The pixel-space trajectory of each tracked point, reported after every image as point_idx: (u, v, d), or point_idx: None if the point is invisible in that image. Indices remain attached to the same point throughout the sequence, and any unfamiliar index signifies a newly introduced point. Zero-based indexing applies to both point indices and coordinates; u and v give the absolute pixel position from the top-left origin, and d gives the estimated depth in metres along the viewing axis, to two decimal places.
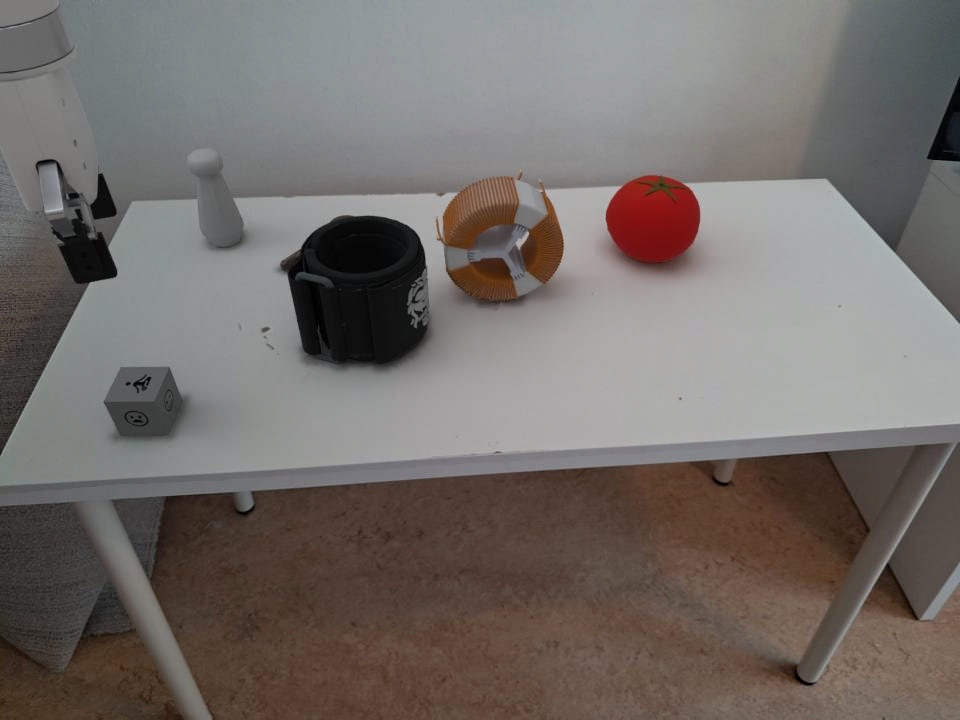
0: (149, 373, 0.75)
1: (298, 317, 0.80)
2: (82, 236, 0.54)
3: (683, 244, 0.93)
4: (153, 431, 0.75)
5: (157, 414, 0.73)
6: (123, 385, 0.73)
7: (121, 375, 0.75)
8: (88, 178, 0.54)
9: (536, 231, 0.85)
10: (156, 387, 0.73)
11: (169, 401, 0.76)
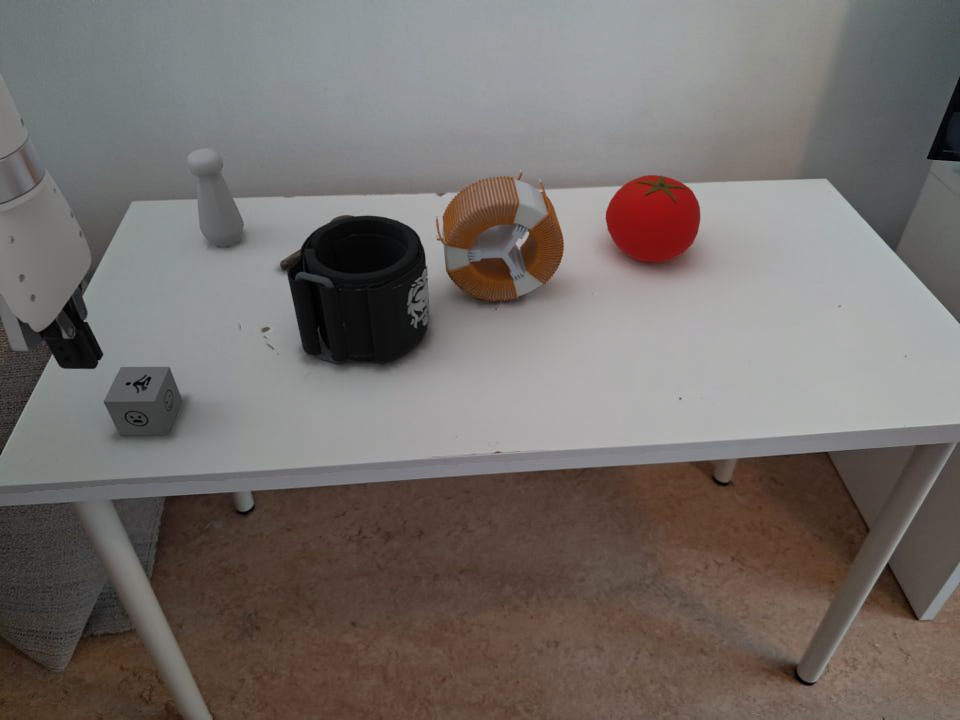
0: (149, 373, 0.75)
1: (298, 317, 0.80)
2: (52, 338, 0.58)
3: (683, 244, 0.93)
4: (153, 431, 0.75)
5: (157, 414, 0.73)
6: (123, 385, 0.73)
7: (121, 375, 0.75)
8: (36, 309, 0.53)
9: (536, 231, 0.85)
10: (156, 387, 0.73)
11: (169, 401, 0.76)
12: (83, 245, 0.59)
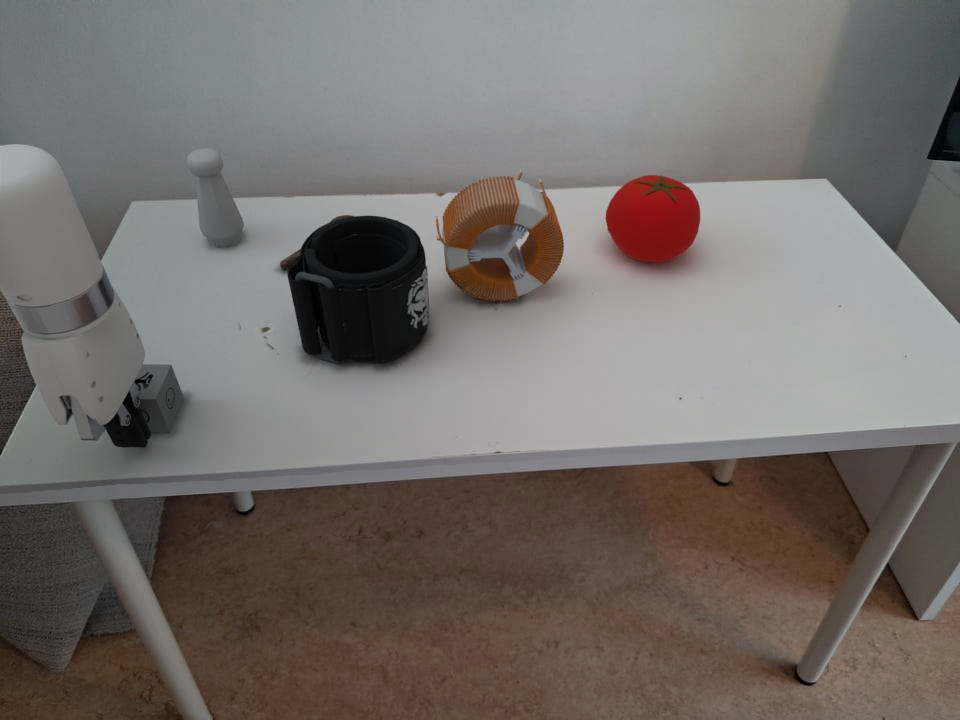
0: (151, 371, 0.75)
1: (298, 317, 0.80)
2: (112, 426, 0.67)
3: (683, 244, 0.93)
4: (155, 428, 0.75)
5: (158, 412, 0.74)
6: None
7: None
8: (103, 407, 0.63)
9: (536, 231, 0.85)
10: (158, 385, 0.74)
11: (171, 399, 0.76)
12: (139, 345, 0.69)
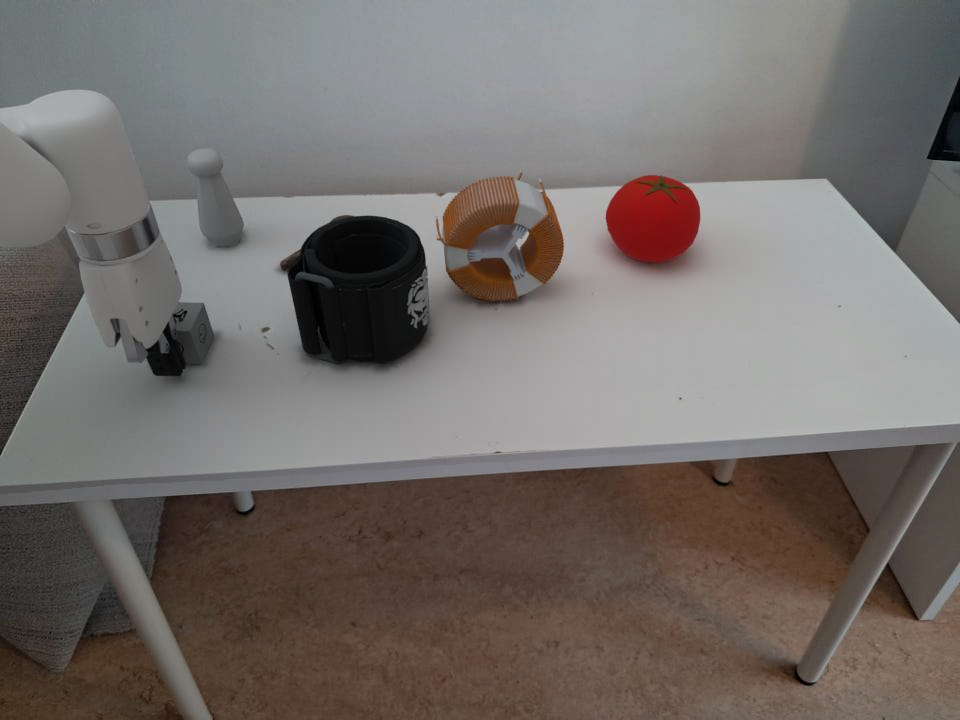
0: (186, 308, 0.83)
1: (298, 317, 0.80)
2: (154, 352, 0.75)
3: (683, 244, 0.93)
4: (188, 360, 0.83)
5: (192, 344, 0.81)
6: None
7: None
8: (148, 331, 0.71)
9: (536, 231, 0.85)
10: (192, 319, 0.81)
11: (203, 334, 0.83)
12: (177, 281, 0.77)
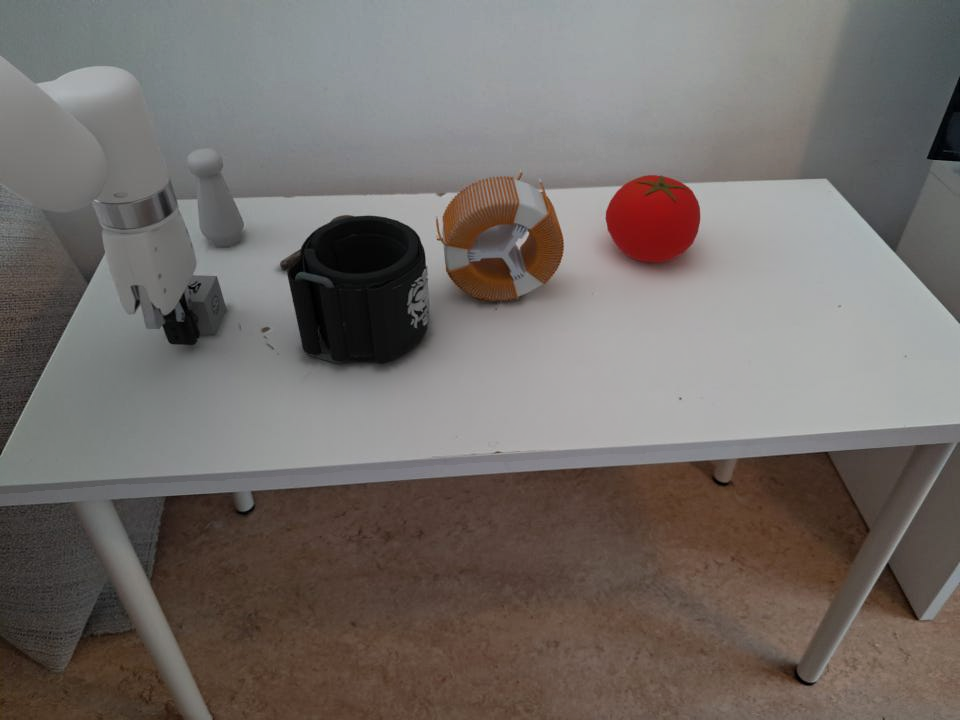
0: (199, 280, 0.86)
1: (298, 317, 0.80)
2: (170, 320, 0.79)
3: (683, 244, 0.93)
4: (201, 330, 0.86)
5: (205, 314, 0.85)
6: None
7: None
8: (166, 298, 0.75)
9: (536, 231, 0.85)
10: (205, 291, 0.85)
11: (216, 306, 0.87)
12: (192, 253, 0.81)
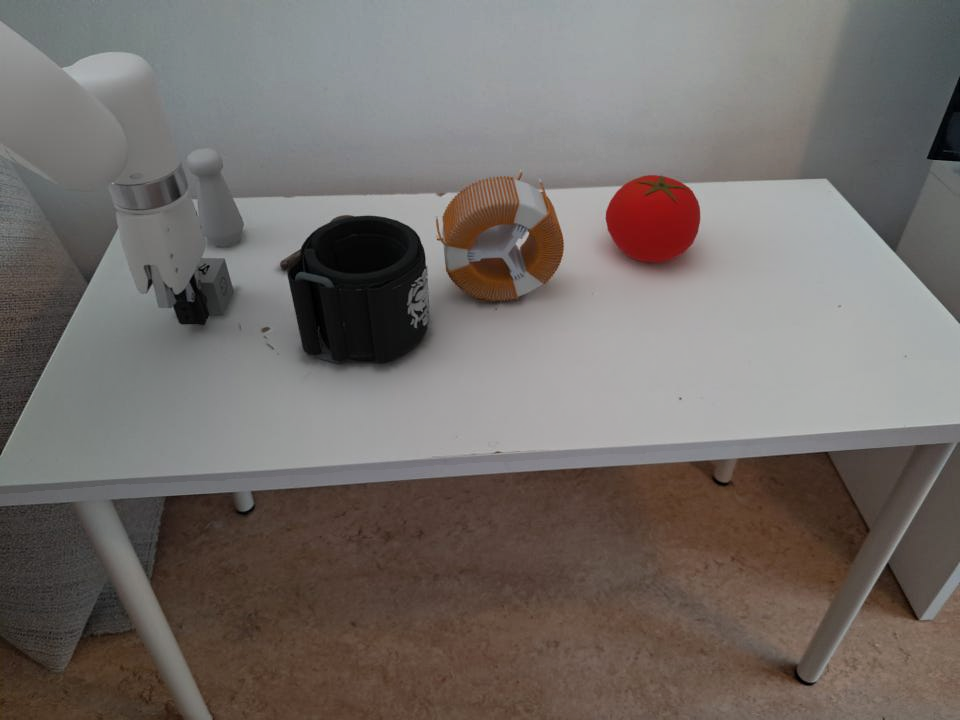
0: (208, 262, 0.89)
1: (298, 317, 0.80)
2: (181, 300, 0.81)
3: (683, 244, 0.93)
4: (210, 311, 0.89)
5: (214, 295, 0.87)
6: None
7: None
8: (178, 278, 0.77)
9: (536, 231, 0.85)
10: (214, 272, 0.88)
11: (224, 287, 0.90)
12: (202, 235, 0.83)
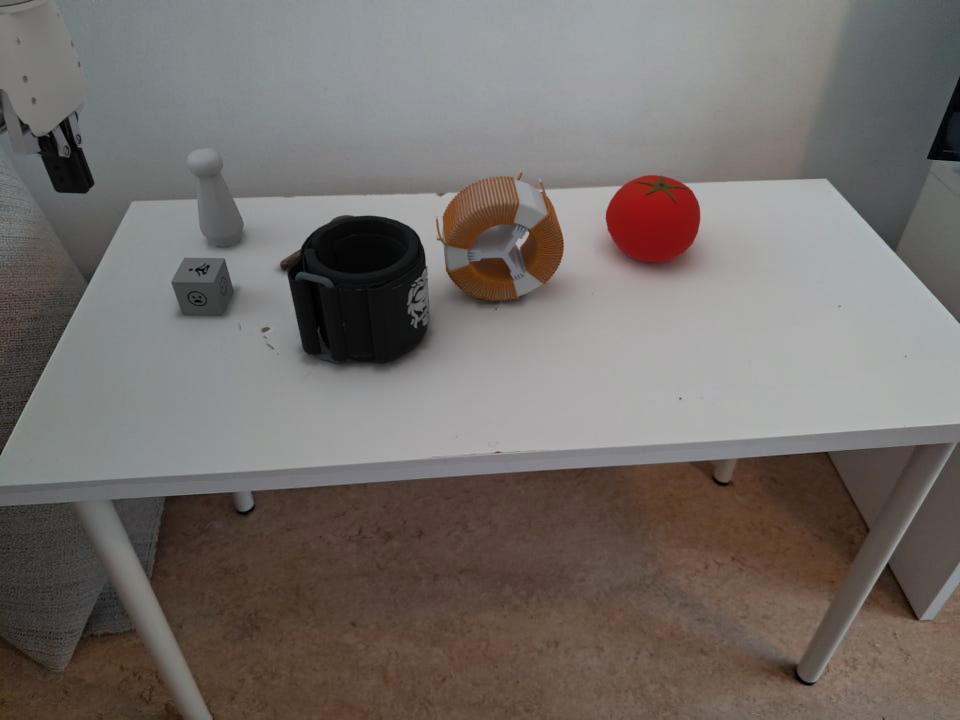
0: (208, 262, 0.89)
1: (298, 317, 0.80)
2: (49, 151, 0.65)
3: (683, 244, 0.93)
4: (210, 311, 0.89)
5: (214, 295, 0.87)
6: (187, 270, 0.88)
7: (185, 263, 0.89)
8: (36, 112, 0.61)
9: (536, 231, 0.85)
10: (214, 272, 0.88)
11: (224, 287, 0.90)
12: (81, 75, 0.67)
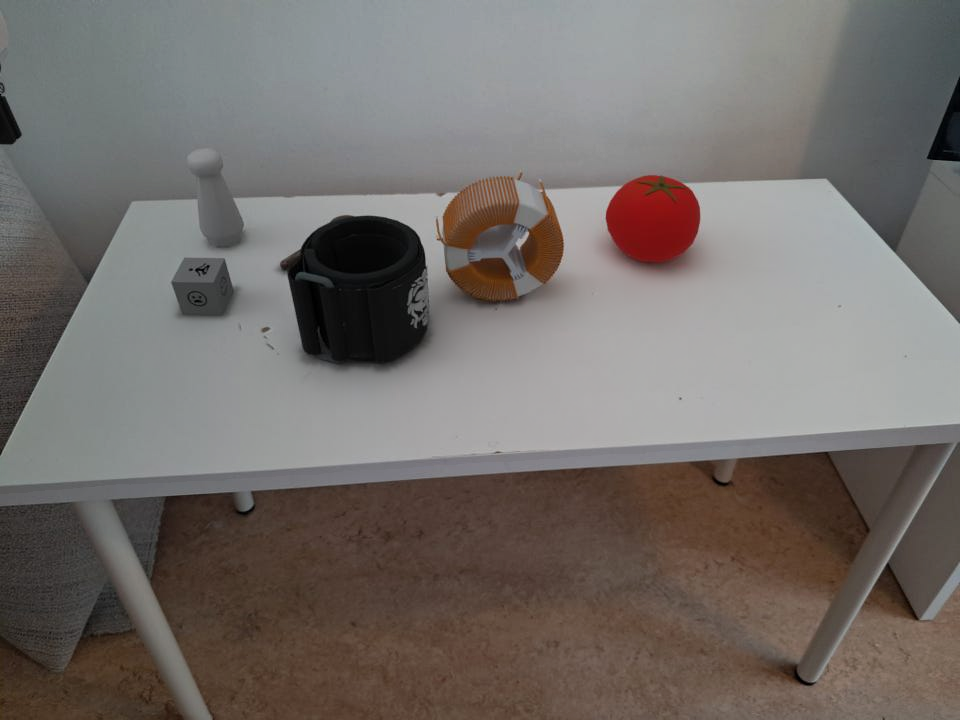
0: (208, 262, 0.89)
1: (298, 317, 0.80)
2: None
3: (683, 244, 0.93)
4: (210, 311, 0.89)
5: (215, 295, 0.87)
6: (187, 270, 0.88)
7: (185, 263, 0.89)
8: None
9: (536, 231, 0.85)
10: (214, 272, 0.88)
11: (224, 287, 0.90)
12: (0, 21, 0.65)
